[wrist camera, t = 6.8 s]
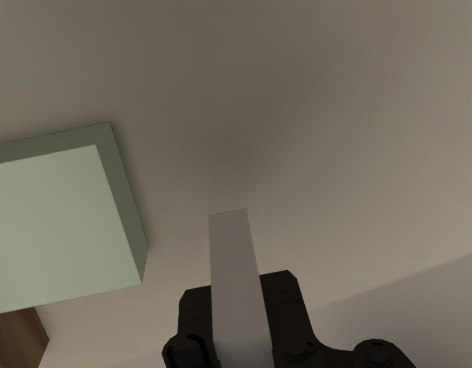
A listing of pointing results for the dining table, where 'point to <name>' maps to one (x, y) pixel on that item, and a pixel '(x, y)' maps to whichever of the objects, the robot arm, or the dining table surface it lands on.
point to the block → (66, 219)
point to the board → (21, 339)
